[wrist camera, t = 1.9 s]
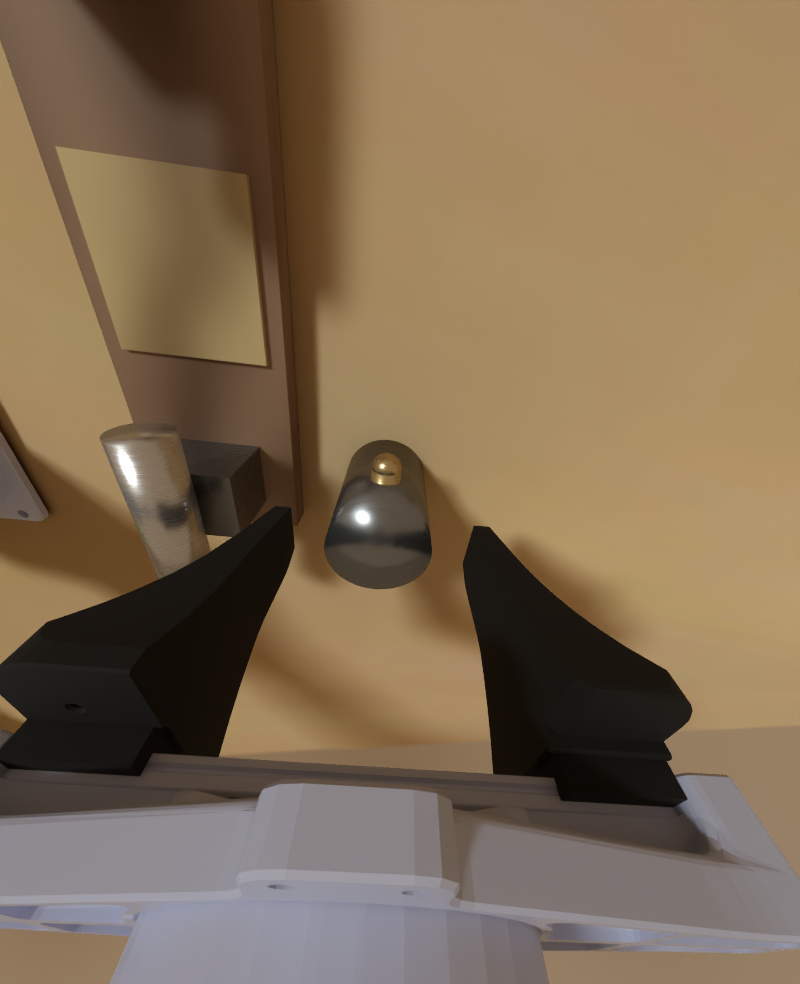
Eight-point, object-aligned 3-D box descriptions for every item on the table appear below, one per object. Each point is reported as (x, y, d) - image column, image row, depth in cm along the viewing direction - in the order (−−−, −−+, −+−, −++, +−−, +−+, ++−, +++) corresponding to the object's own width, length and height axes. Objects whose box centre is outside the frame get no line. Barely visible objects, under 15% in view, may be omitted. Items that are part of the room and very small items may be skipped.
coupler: (347, 516, 18) (325, 600, 13) (349, 416, 15) (322, 477, 10) (415, 522, 19) (419, 608, 13) (432, 425, 15) (446, 489, 10)
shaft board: (178, 500, 18) (162, 515, 17) (-107, -417, 6) (-228, -586, 5) (303, 512, 18) (296, 527, 17) (251, -336, 7) (218, -474, 5)
